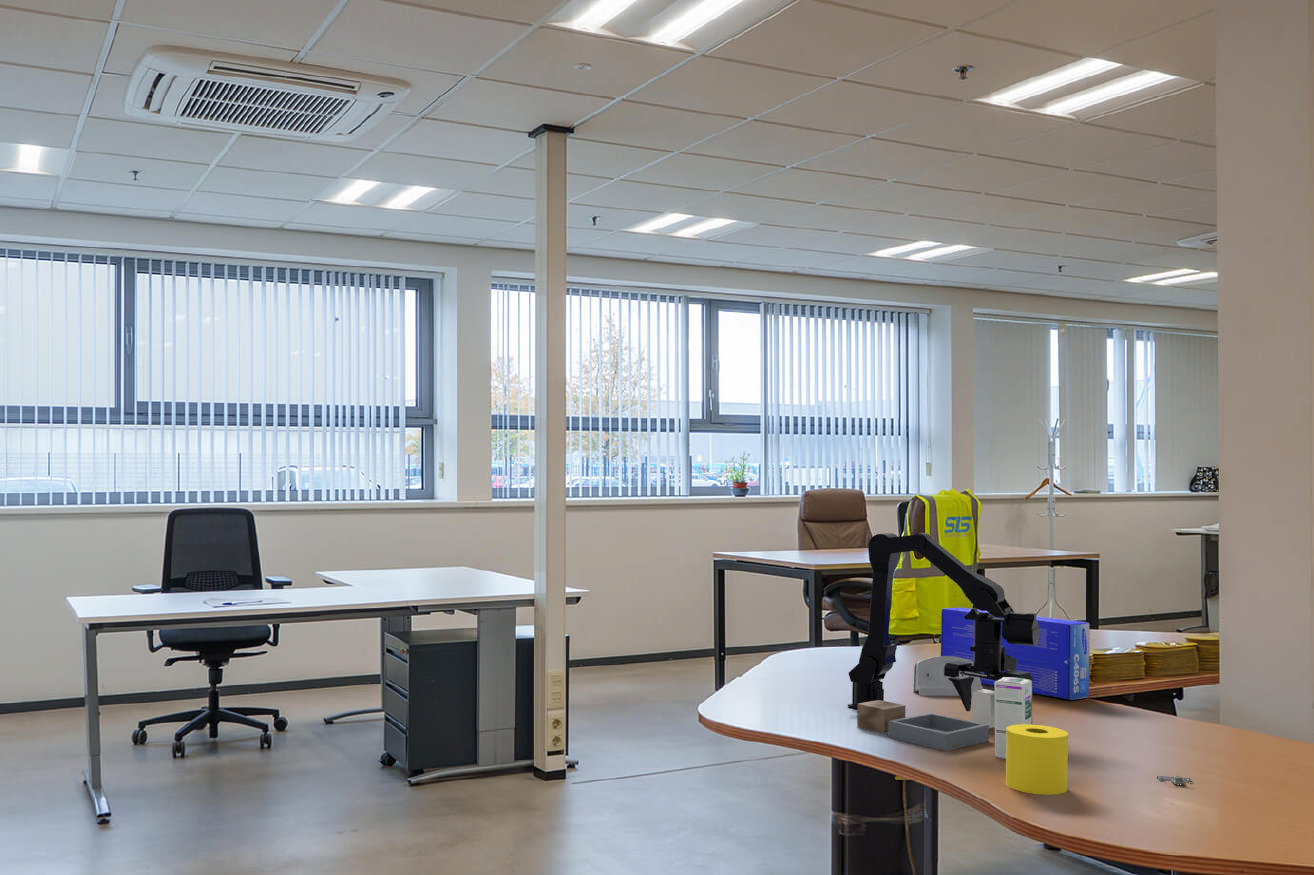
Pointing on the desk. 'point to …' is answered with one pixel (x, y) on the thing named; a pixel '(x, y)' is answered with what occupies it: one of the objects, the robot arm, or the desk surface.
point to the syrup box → (1011, 708)
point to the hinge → (938, 677)
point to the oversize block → (878, 715)
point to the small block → (983, 707)
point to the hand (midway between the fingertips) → (986, 714)
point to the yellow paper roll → (1036, 759)
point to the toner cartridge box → (1031, 653)
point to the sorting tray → (938, 731)
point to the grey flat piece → (1174, 779)
